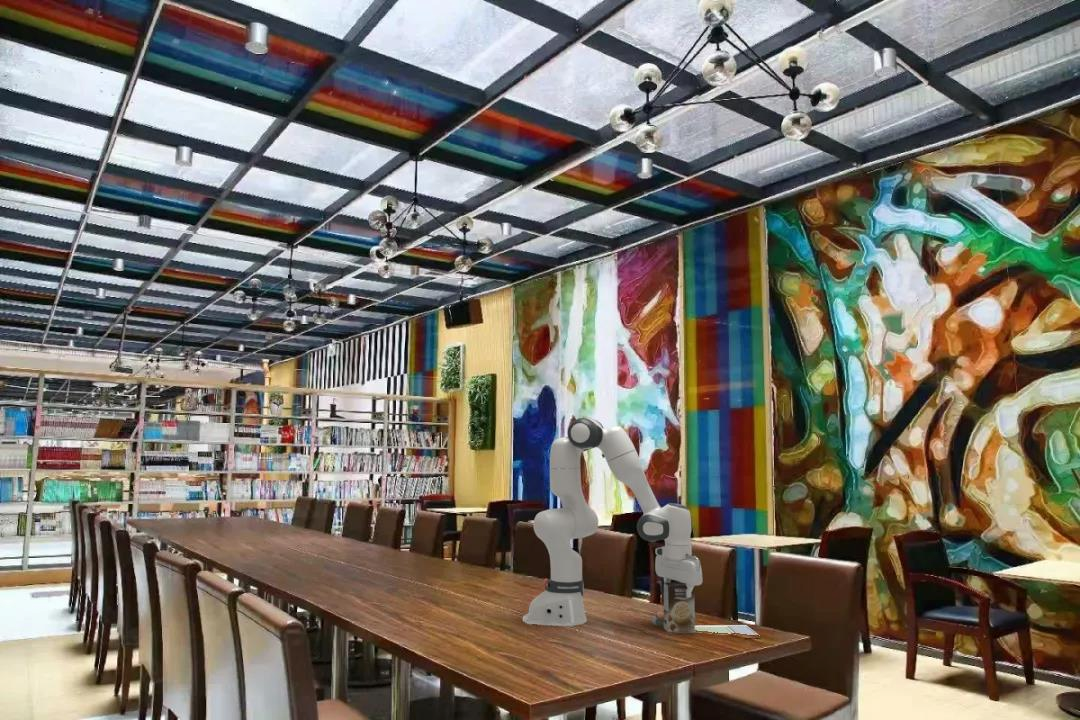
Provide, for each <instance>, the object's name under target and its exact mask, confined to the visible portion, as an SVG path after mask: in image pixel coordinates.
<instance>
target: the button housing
mask: <svg viewBox="0 0 1080 720" xmlns="http://www.w3.org/2000/svg"><path fill="white" fill-rule="evenodd" d="M651 624H653V625H654V626H659V627H660V626H661V627H664V619H657V615H652V621H651Z"/></svg>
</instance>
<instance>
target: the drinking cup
mask: <svg viewBox="0 0 1080 720" xmlns="http://www.w3.org/2000/svg"><path fill="white" fill-rule="evenodd" d="M659 577H660V583H661V593H662V594H661V595H662V604H663V606H664V577H661V576H659ZM670 582H671V583H681V582H679V581H675V580H672V579H671V581H670Z"/></svg>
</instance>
